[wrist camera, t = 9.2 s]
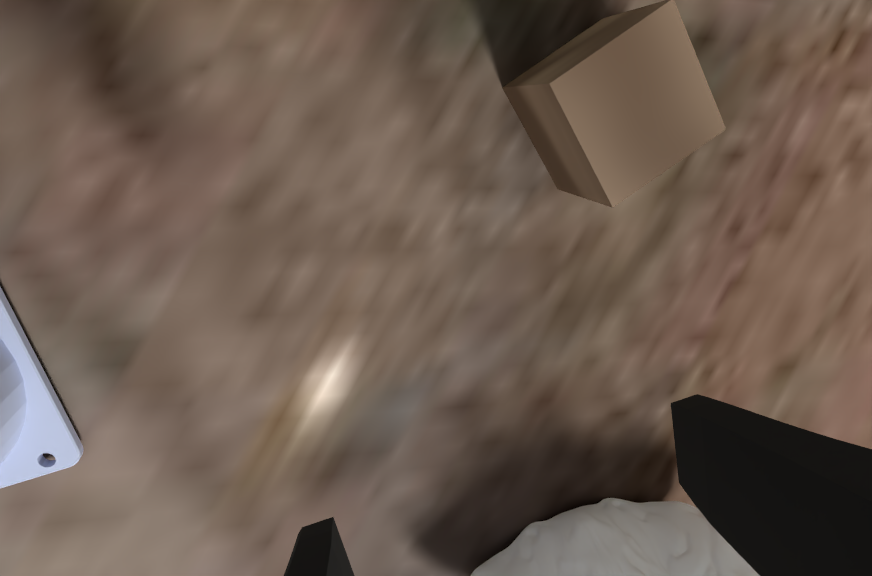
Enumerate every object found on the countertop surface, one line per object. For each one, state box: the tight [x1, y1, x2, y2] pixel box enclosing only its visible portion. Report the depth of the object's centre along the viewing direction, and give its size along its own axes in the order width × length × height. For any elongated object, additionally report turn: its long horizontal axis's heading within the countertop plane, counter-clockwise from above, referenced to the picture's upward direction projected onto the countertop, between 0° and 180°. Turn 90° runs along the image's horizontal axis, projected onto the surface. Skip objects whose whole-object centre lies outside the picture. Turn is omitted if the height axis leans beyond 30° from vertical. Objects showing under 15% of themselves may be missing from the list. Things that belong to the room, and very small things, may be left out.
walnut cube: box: [502, 0, 726, 207], centre depth 18 cm, size 4×4×4 cm
